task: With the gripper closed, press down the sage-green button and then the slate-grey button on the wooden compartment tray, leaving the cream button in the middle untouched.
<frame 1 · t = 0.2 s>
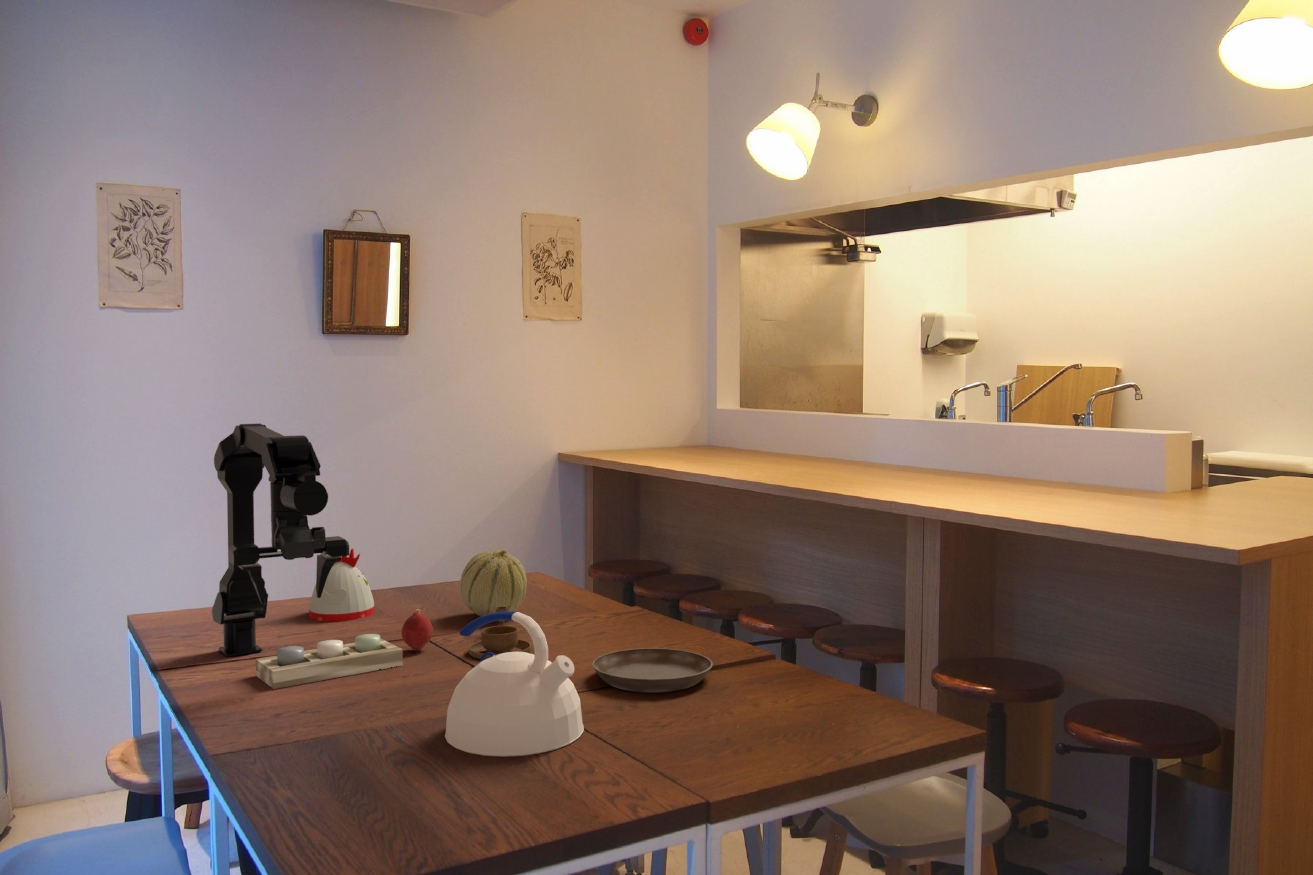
hand: (291, 600, 175), 14 cm above the table, tool pointing down, fingers open, 9 cm apart
wooden compartment tray: (330, 670, 184), on the table
button slate: (290, 656, 179), point 4 cm above the table, slide at 0.0 cm
button cream: (330, 649, 184), point 4 cm above the table, slide at 0.0 cm
place setting: (509, 650, 199), on the table
cantaloupe: (493, 617, 225), on the table
plant saucer: (652, 681, 178), on the table
kettle: (515, 734, 151), on the table
kitchen timer: (342, 615, 229), on the table
onion: (417, 651, 197), on the table
button sage: (367, 643, 188), point 4 cm above the table, slide at 0.0 cm
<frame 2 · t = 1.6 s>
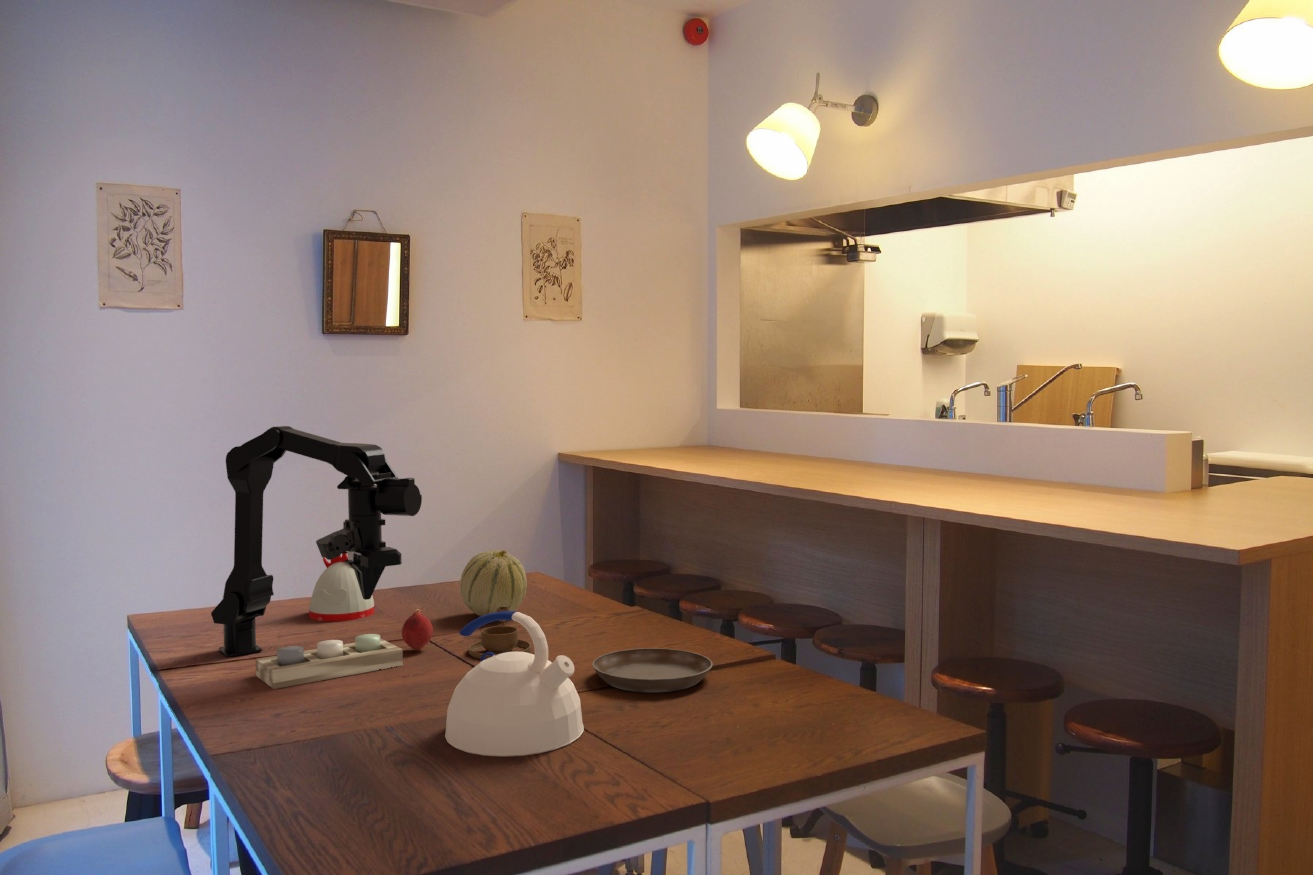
hand: (366, 599, 187), 12 cm above the table, tool pointing down, fingers closed
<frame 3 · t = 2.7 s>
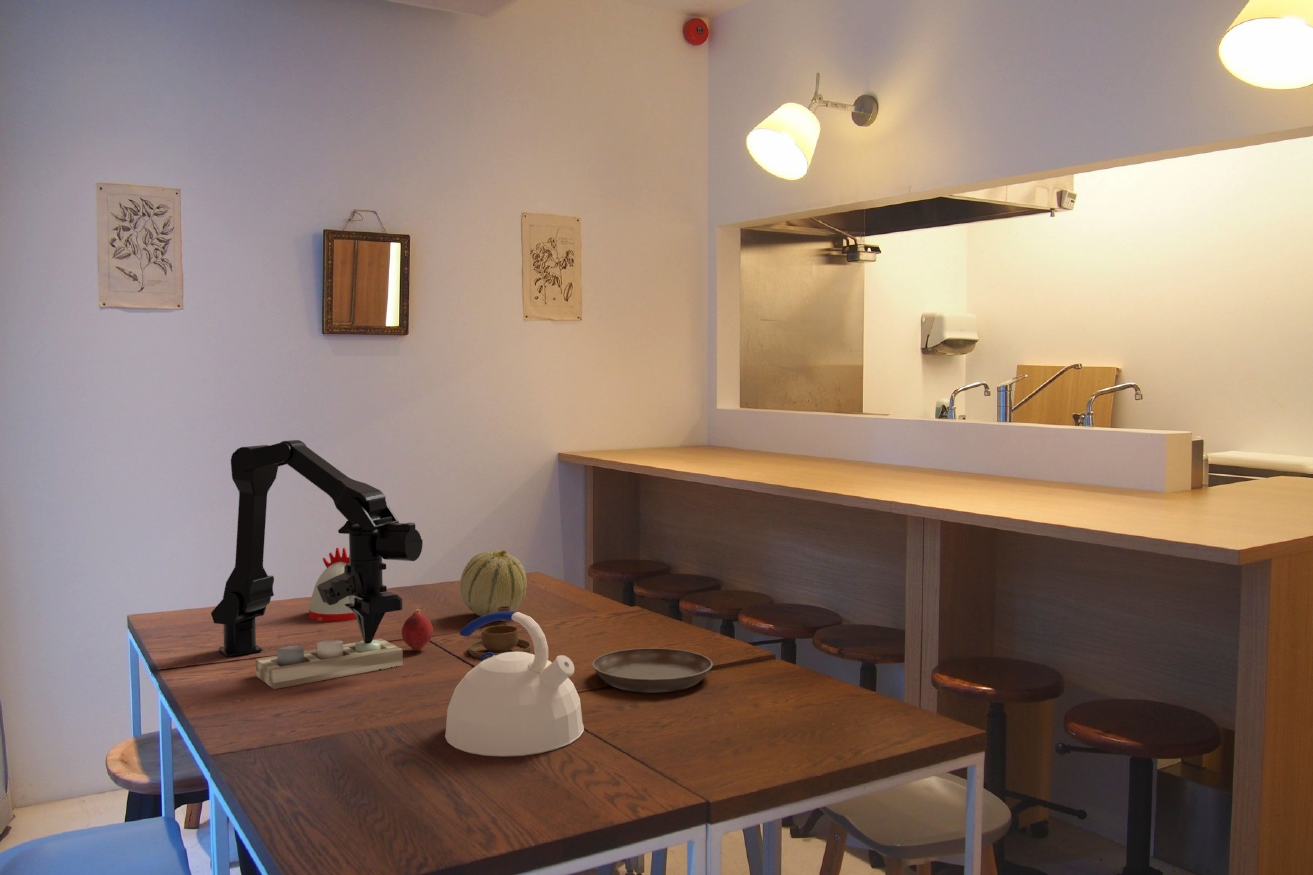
hand: (367, 642, 188), 4 cm above the table, tool pointing down, fingers closed, pressing on button sage
button sage: (368, 649, 188), point 3 cm above the table, slide at 1.1 cm, touching gripper
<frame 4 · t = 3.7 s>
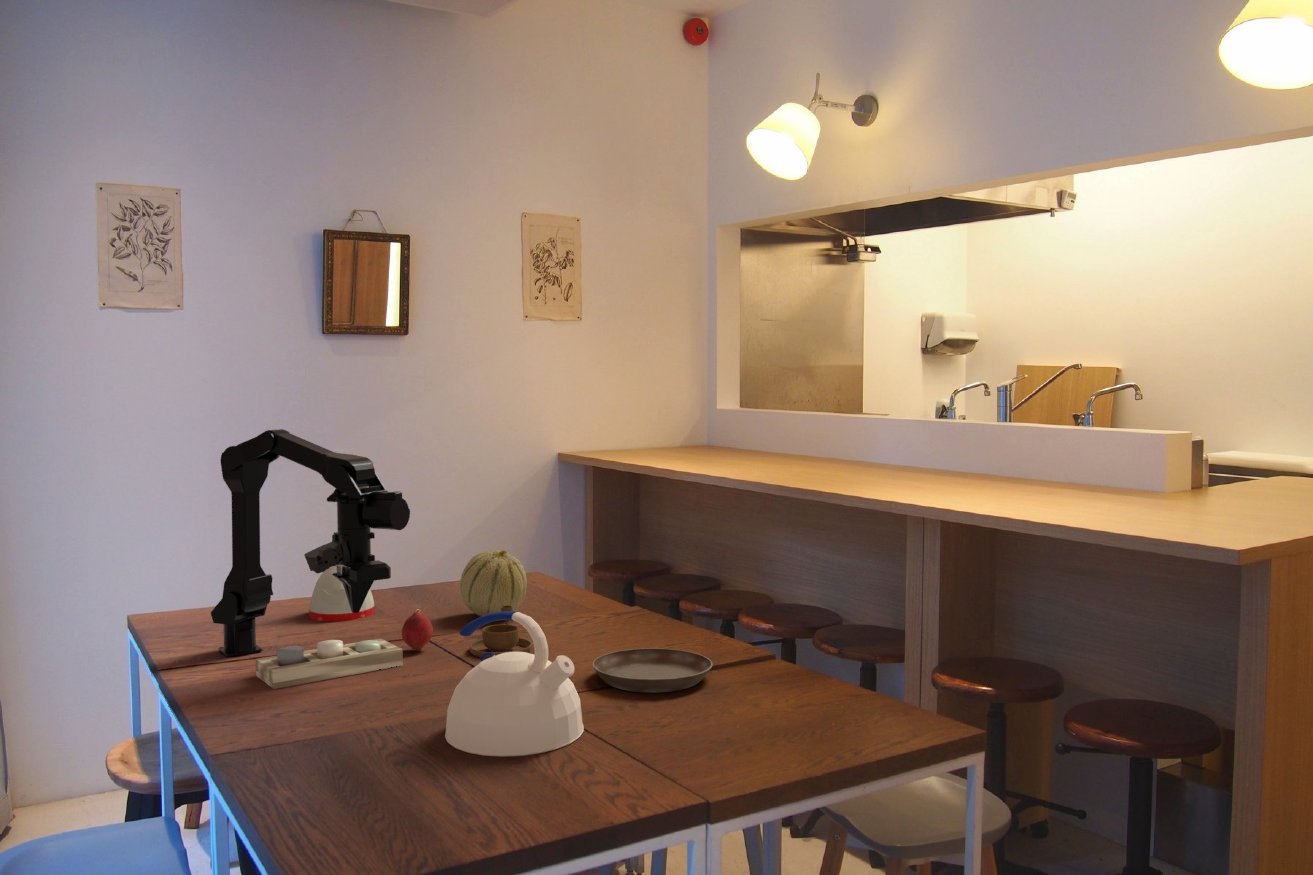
hand: (355, 612, 186), 10 cm above the table, tool pointing down, fingers closed
button sage: (368, 649, 188), point 3 cm above the table, slide at 1.2 cm
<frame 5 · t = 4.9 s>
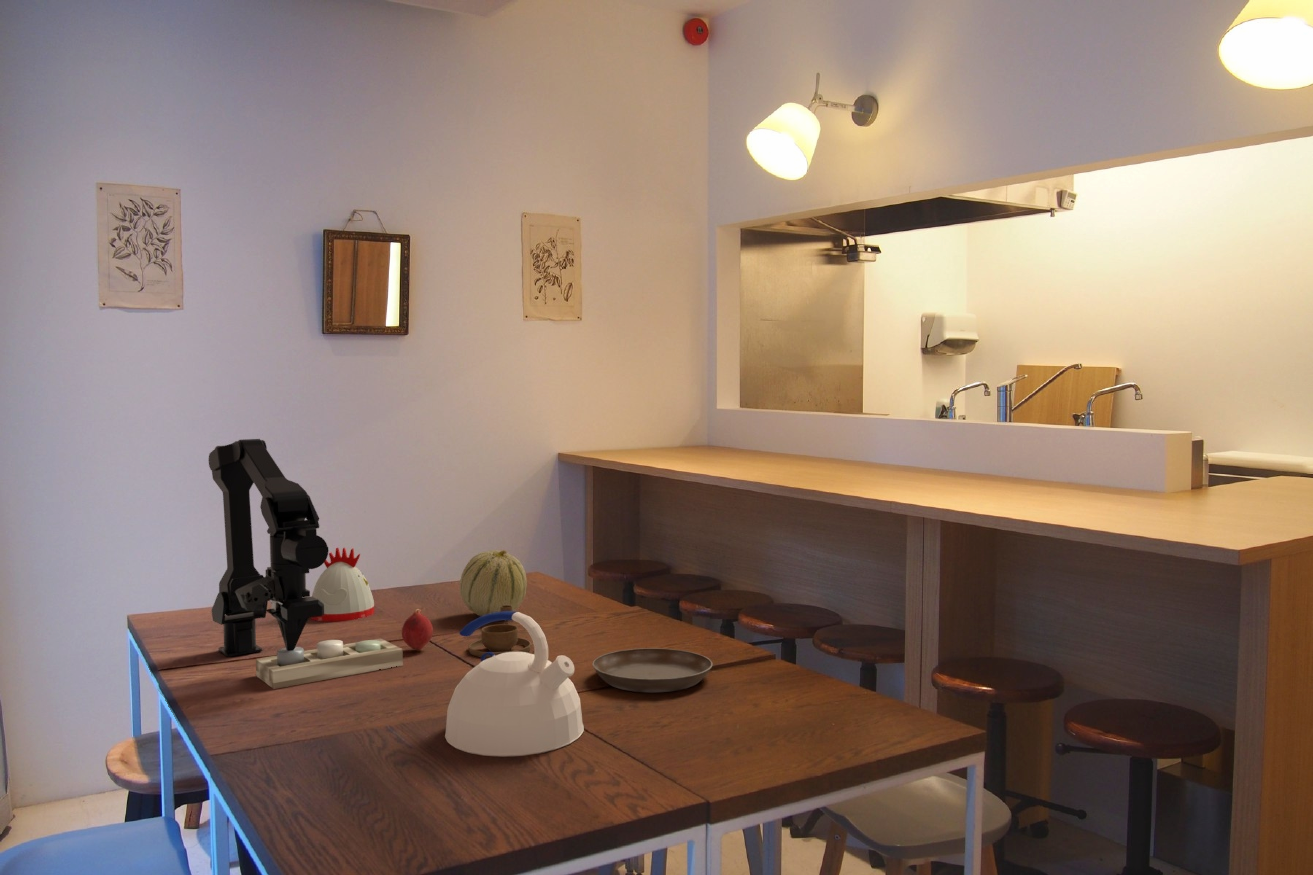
hand: (290, 650, 179), 5 cm above the table, tool pointing down, fingers closed, pressing on button slate
button slate: (290, 656, 179), point 4 cm above the table, slide at 0.1 cm, touching gripper
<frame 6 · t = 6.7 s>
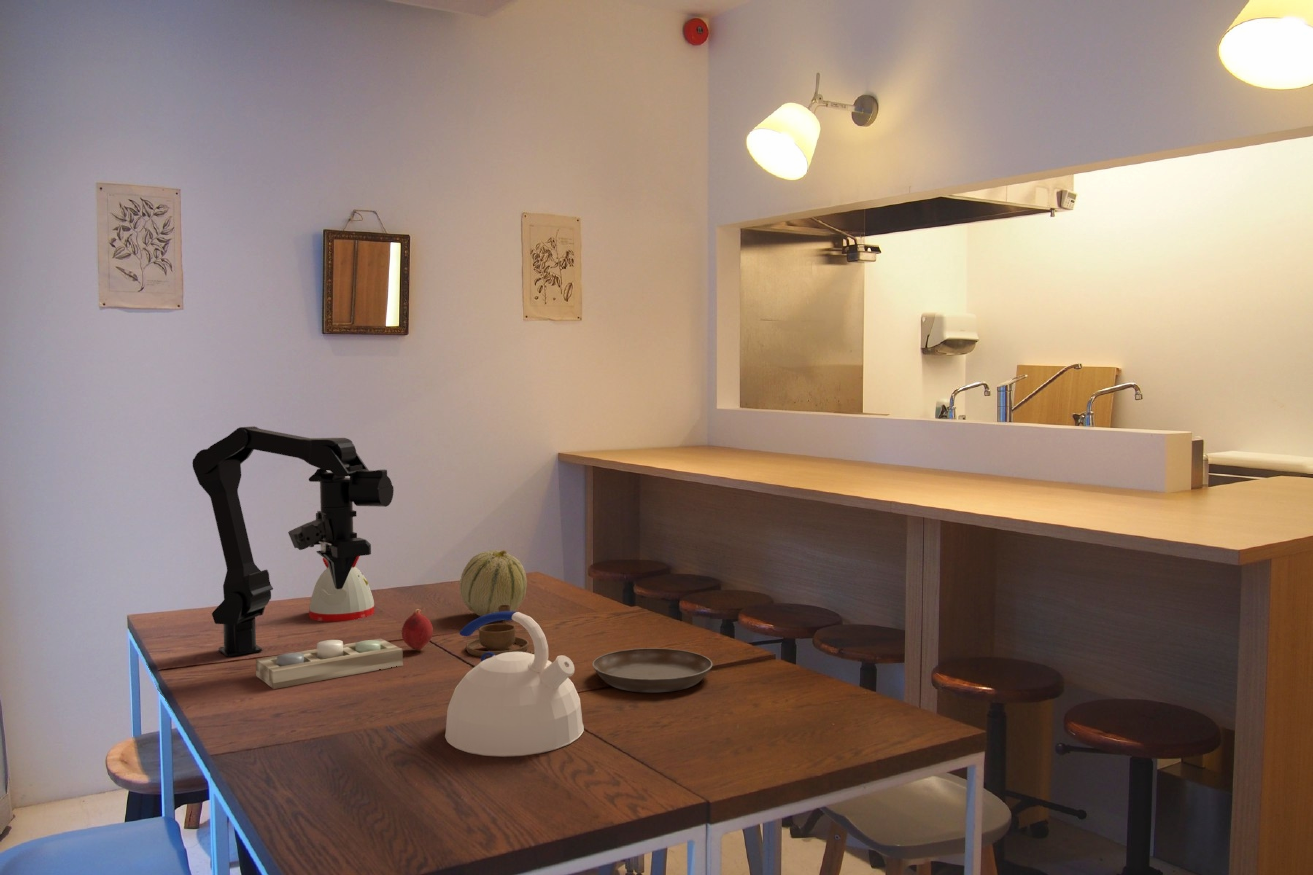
hand: (338, 588, 192), 13 cm above the table, tool pointing down, fingers closed
button slate: (290, 662, 180), point 3 cm above the table, slide at 1.2 cm
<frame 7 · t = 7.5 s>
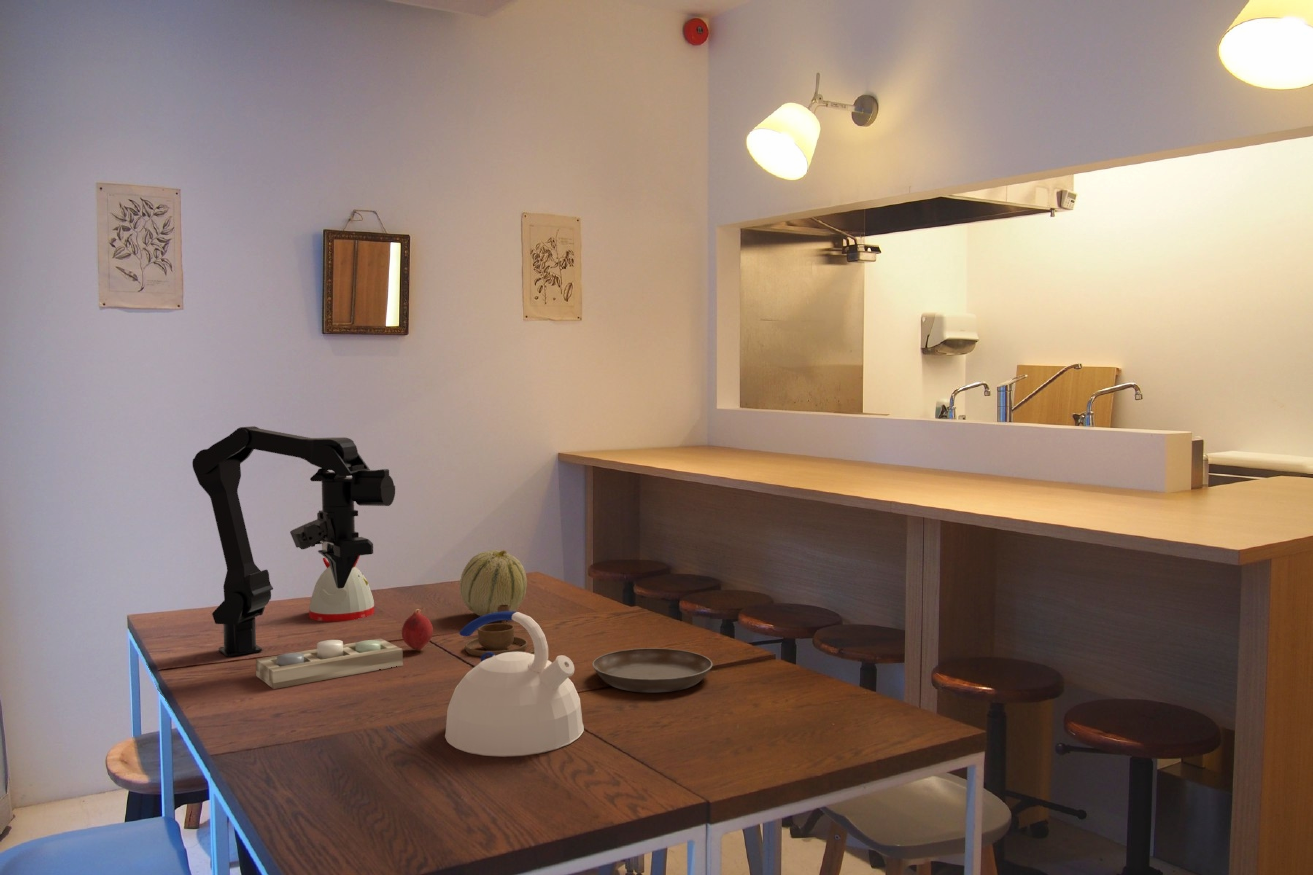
hand: (340, 588, 193), 13 cm above the table, tool pointing down, fingers closed
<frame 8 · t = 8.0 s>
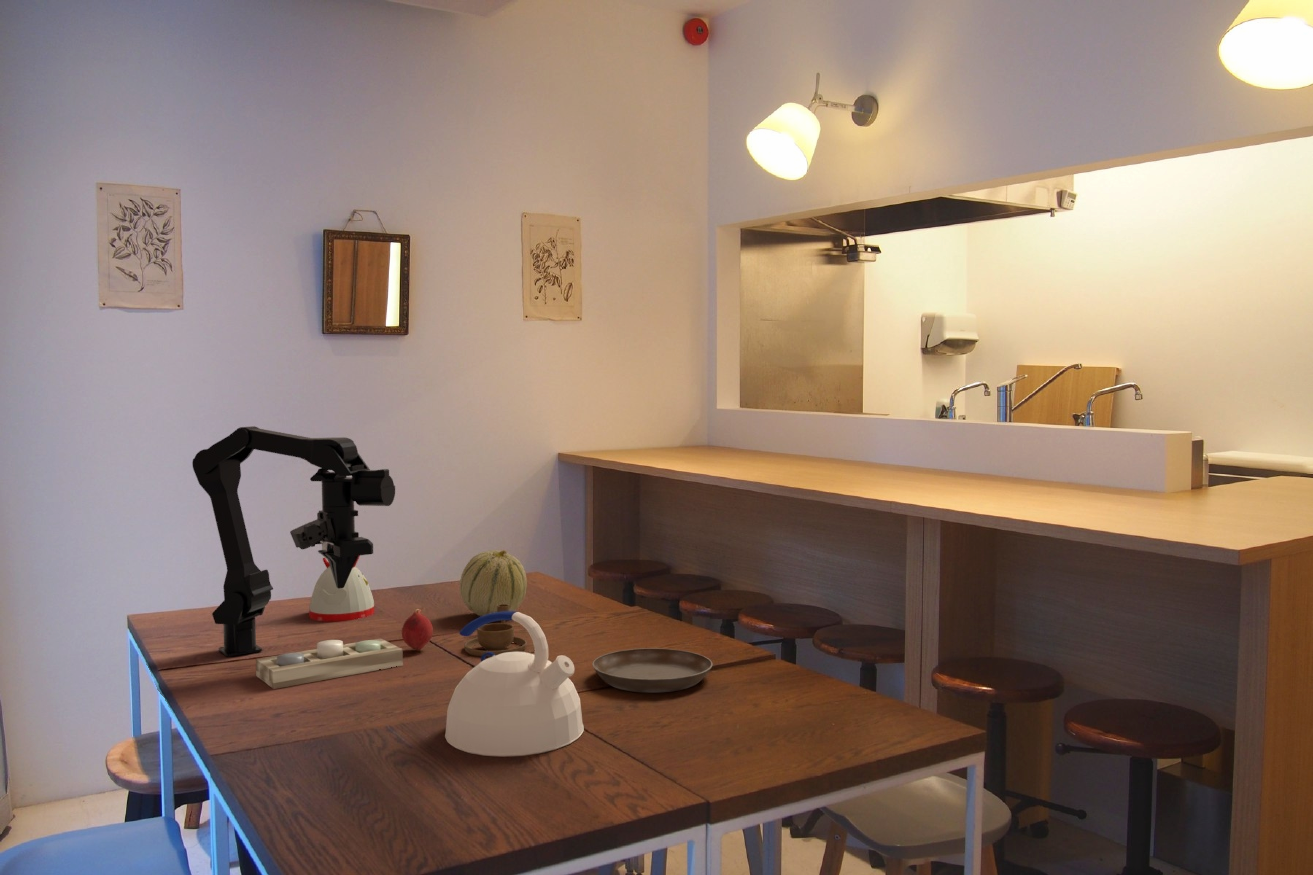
hand: (340, 588, 193), 13 cm above the table, tool pointing down, fingers closed
at the end: button sage slide at 1.2 cm; button slate slide at 1.2 cm; button cream slide at 0.0 cm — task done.
